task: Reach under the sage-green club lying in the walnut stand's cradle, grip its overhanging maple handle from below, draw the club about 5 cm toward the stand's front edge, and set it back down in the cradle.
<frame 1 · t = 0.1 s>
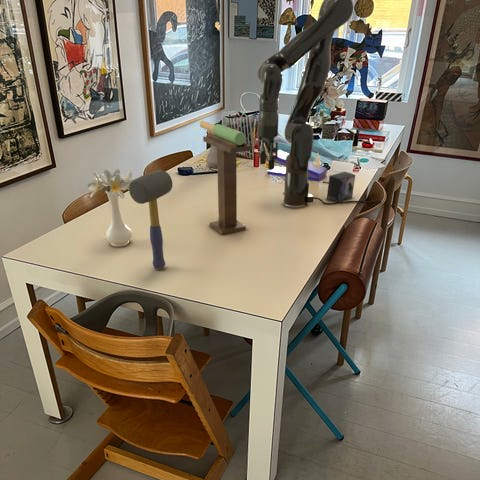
hand: (266, 166, 189), 17 cm above the table, tool pointing down, fingers open, 8 cm apart
stand: (227, 228, 180), on the table
flower vase: (120, 243, 169), on the table
small box: (339, 199, 209), on the table
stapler: (296, 175, 240), on the table
rubber mallet: (159, 269, 152), on the table
club: (218, 130, 166), point 34 cm above the table, touching stand
coffee pot: (225, 167, 252), on the table
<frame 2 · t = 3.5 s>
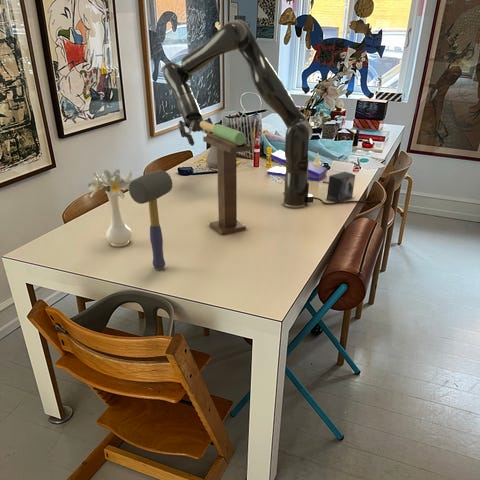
hand: (202, 143, 191), 24 cm above the table, tool tilted 45°, fingers open, 8 cm apart
nothing on the table moved.
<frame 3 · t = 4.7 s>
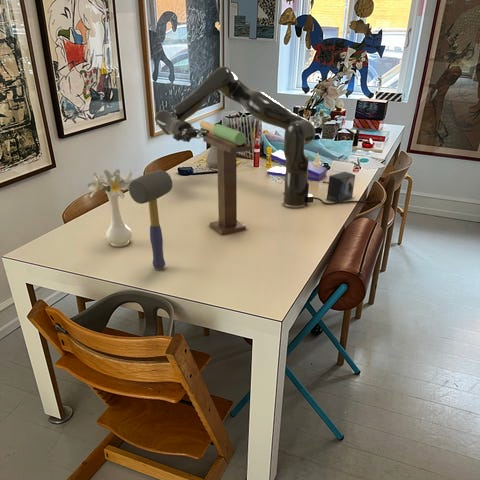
hand: (198, 138, 188), 27 cm above the table, tool horizontal, fingers open, 8 cm apart
nothing on the table moved.
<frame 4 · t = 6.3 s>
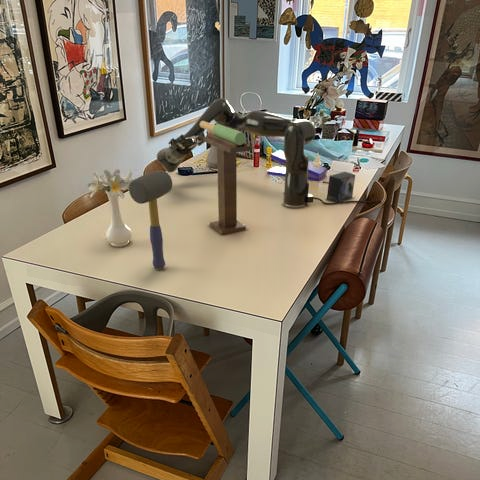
hand: (193, 135, 185), 28 cm above the table, tool pointing upward, fingers open, 8 cm apart
nothing on the table moved.
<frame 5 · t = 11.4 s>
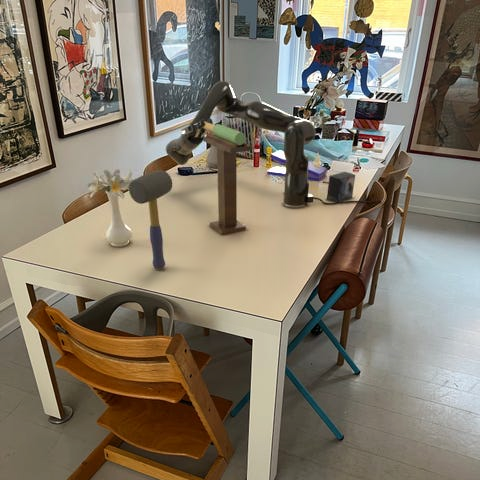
hand: (207, 121, 172), 35 cm above the table, tool pointing upward, fingers closed on club, 2 cm apart
club: (218, 130, 166), point 34 cm above the table, touching gripper, stand
everything else where it was.
when the fingers open (35 cm above the table, at t = 14.8 s): club stays where it is, resting on stand.
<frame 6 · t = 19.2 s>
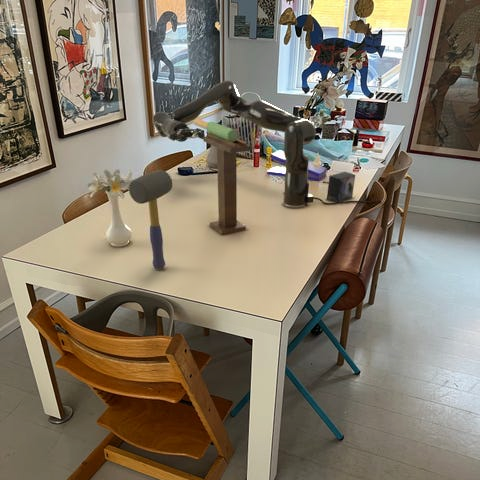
hand: (193, 137, 189), 27 cm above the table, tool horizontal, fingers open, 8 cm apart
club: (212, 128, 170), point 34 cm above the table, touching stand
everything else where it was.
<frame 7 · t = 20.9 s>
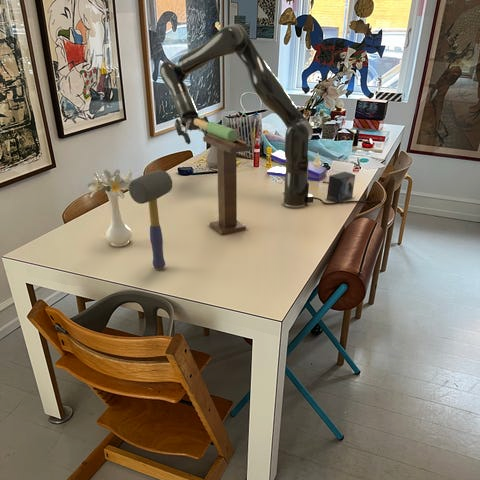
hand: (199, 141, 193), 25 cm above the table, tool tilted 45°, fingers open, 8 cm apart
nothing on the table moved.
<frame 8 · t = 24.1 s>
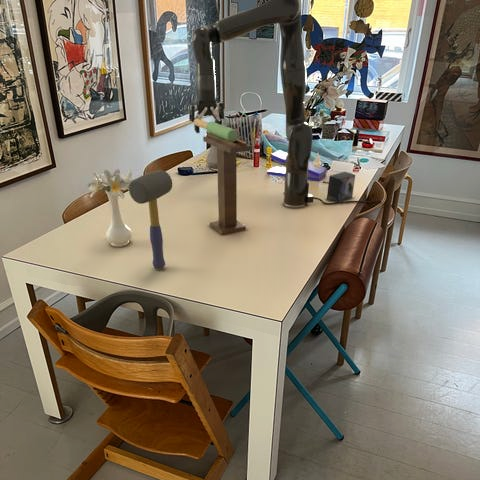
hand: (207, 131, 192), 28 cm above the table, tool pointing down, fingers open, 8 cm apart
nothing on the table moved.
at the end: club 0.7 cm from the target spot on the stand, point 33.9 cm above the stand's base; club touching stand; the gripper is holding nothing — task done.
